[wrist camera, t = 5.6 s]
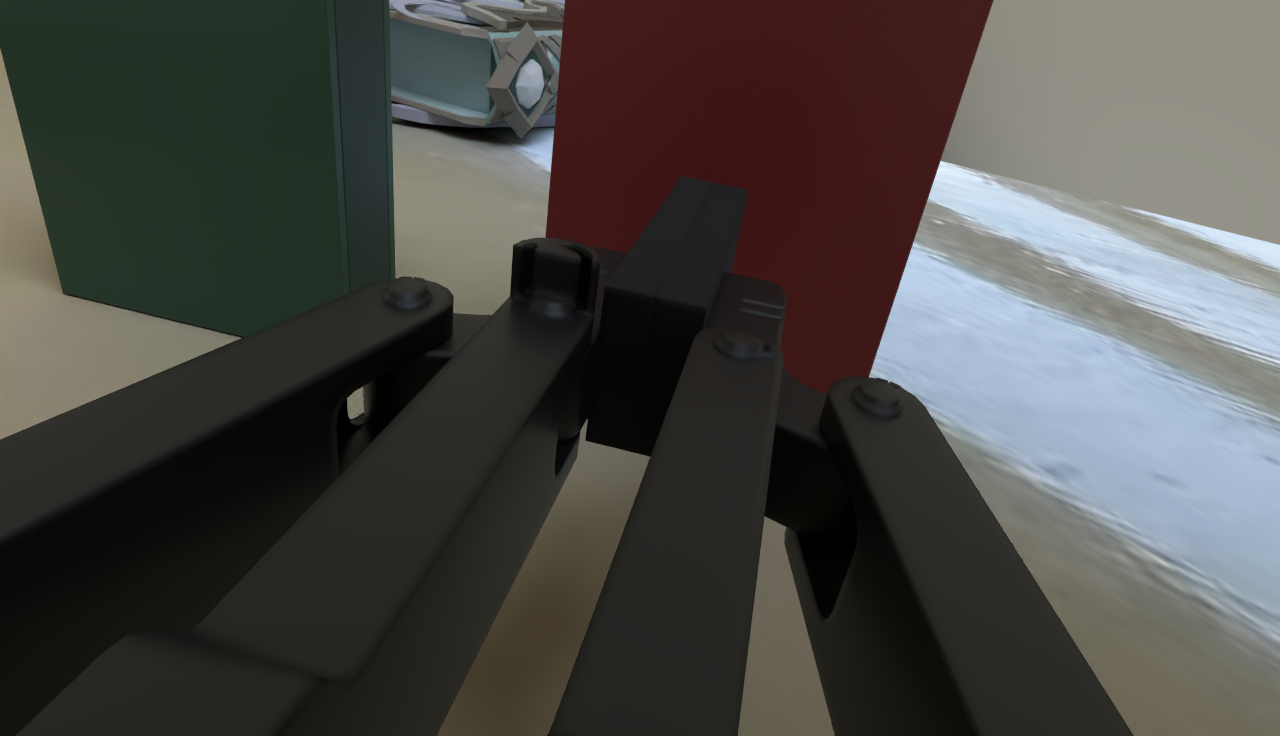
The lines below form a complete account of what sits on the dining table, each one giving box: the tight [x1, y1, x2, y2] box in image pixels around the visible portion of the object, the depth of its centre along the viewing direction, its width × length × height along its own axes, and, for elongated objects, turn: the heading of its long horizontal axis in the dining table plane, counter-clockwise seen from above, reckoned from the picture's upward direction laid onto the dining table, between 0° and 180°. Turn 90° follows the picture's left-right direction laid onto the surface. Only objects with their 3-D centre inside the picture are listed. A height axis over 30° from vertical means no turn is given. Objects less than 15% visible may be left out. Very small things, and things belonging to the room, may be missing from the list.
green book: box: [0, 0, 395, 337], centre depth 24 cm, size 3×11×17 cm, turn 78°
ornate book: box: [389, 0, 565, 139], centre depth 63 cm, size 23×10×30 cm
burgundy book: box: [546, 0, 993, 416], centre depth 22 cm, size 3×10×16 cm, turn 78°
